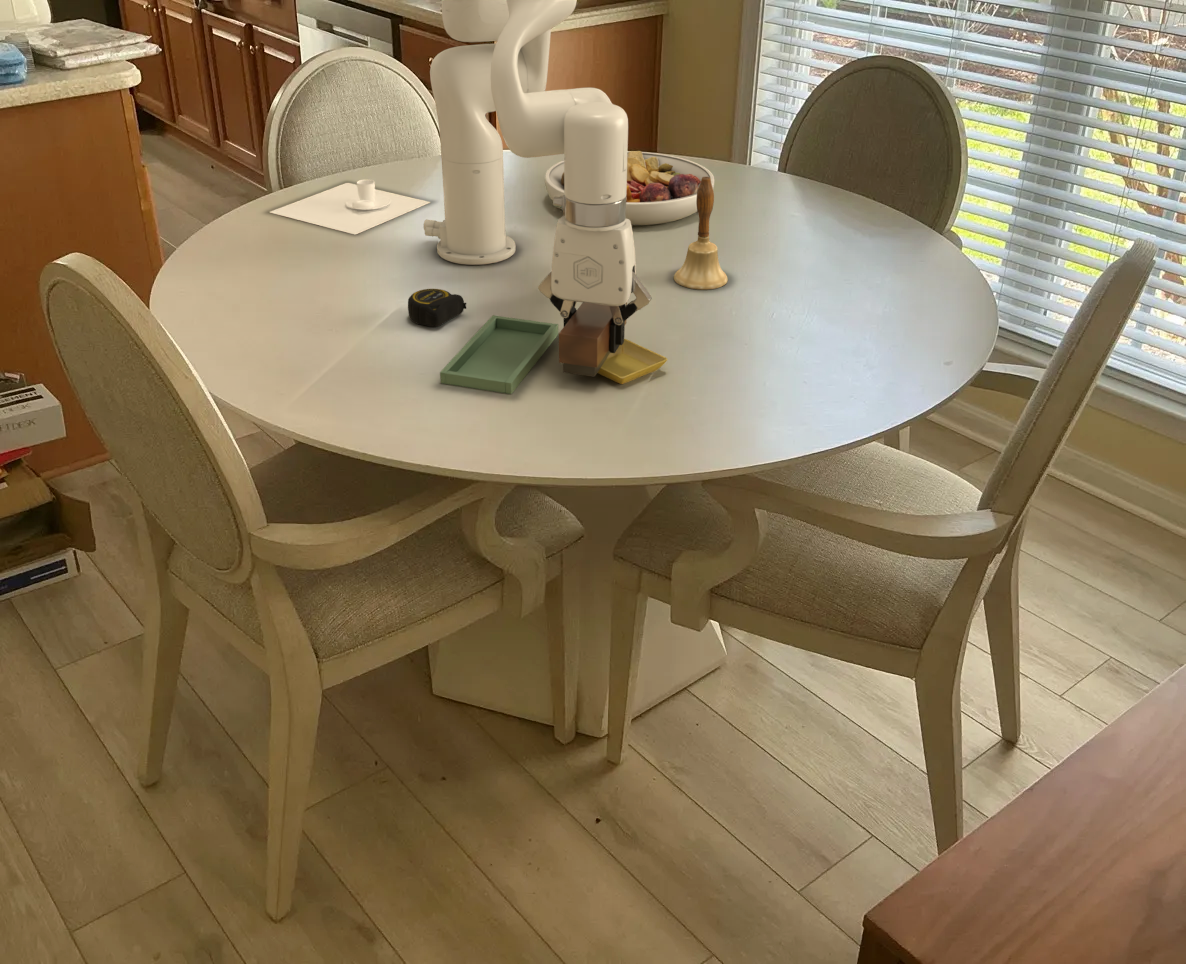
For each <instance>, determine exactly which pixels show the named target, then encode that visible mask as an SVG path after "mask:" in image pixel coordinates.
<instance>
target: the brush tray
mask: <svg viewBox="0 0 1186 964" xmlns="http://www.w3.org/2000/svg"><path fill="white" fill-rule="evenodd" d="M557 337H559V324H558V323H553V322H544V321H537V320H530V319H524V318H516V317H508V316H502V315H495V314H493V315H492V316H490V318H489V319H488V320H487V321H486V322H485V323H484V324H483V325H482V326H481V327H480V328H479V329H478V331H477V332H476V333H475V334H474V335H473V336H472V337H471V338H470V339H469V340H468V342H467V343H465V345H464V346H462V348H461V349H460V350H459V351H458V352H457V353H456V354H455V356H453V358H452V359H451V360H450V361H449V362H448V363H447V364H446V365H445V366H444V367H443V368H442V369H441V371H440V372H439V377H440V379H439V381H440V384H441V385H443V384H444V385H450V386H455V387H462V388H469V389H475V390H482V391H488V392H493V393H494V392H495V393H501V394H507V395H512V394H513V393H514V392H515V391H516V389H517V388H518V387H519V386H520V384H521V383H522V382H523V380H524V379H525V378H526V376H527V375H528V374H529V372H530V371H531V370H532V369H533V368H534V367H535V365H536V364H537V362H538V361H539V360H540V359H541V357H542V356H543V355H544V353H545V352H546V351H547V350H548V349H549V348H550V346H551V344H552V343H553V342H554V340H555V339H556V338H557Z"/></svg>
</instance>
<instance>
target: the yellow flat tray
mask: <svg viewBox="0 0 1186 964" xmlns="http://www.w3.org/2000/svg"><path fill="white" fill-rule="evenodd" d="M667 361H668V357H666V356H664V355H662V354H660V353H657V352H655V351H653V350H651V349H649V348H646V347H644V346H642V345H640V344H638V343H636V342H633V341H632V340H630V339H627V338H624V342H623V344H622V345H620V346H619V347H618V349H617V350H616V352H615V353H610V354H609V356H608V357H607V359H606V360H605V362H604V363H603V365H602V366H601V368H600V369H599V371H598V373H597V374H599V375H601V376H602V377H605V378H607V379H609V380H611V381H613V382H615V383H617V384H620V385H624V384H627V383H629V382H631V381H632V382H633V381H634V380H637V379H639V378H641V377H644V376H646V375H648V374H653V373H655V372H657V371H658V370H659V369H660V368H661V367H662V366H664V365H665V363H667Z"/></svg>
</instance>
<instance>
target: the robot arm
mask: <svg viewBox="0 0 1186 964" xmlns="http://www.w3.org/2000/svg"><path fill="white" fill-rule="evenodd" d="M577 2H578V1H577V0H441V19H442V25H443V28H444V30H445V32H446V34H447V35H448V36H449V37H450V38H451V39H453V40H455V41H459V42H462V43H479V44H469V45H460V46H458V45H457V46H452V47H450V48H449V47H448V48H447V49H444V50H442V51H441V52H439V53H437V55H436V56H434V58H433V60H432V61H431V64H430V69H429V75H430V76H429V77H430V86H431V90H432V95H433V100H434V104H435V105H434V106H435V108H436V116H437V121H438V130H439V141H440V157H441V171H442V172H441V173H442V175H441V176H442V191H443V206H444V207H443V209H444V219H443V220H442V221H438V220H434V219H425V220H424V222H423V231H424V235H425V236H426V237H437V238H438V239H439V241H438V243H437V245H436V250H437V251H436V252H437V255H438V256H439V257H440V258H441V259H443V260H445V261H447V262H451V263H455V264H460V265H470V266H478V265H479V266H480V265H489V264H490V265H491V264H494V263H499V262H502V261H505V260H507V259H509V258H511V257H512V256H513V255H514V254H515V253H516V242H515V240H514V239H513V238H511V237H510V236H508V235H506V210H505V209H506V207H505V206H506V205H505V177H504V175H505V172H504V145H503V141H504V144H505V145H506V147H507V148H508V150H509V151H510V152H511V153H512V154H514V155H515V156H518V157H520V158H524V159H525V158H526V159H529V158H540V157H541V158H542V157H549V156H556V155H557V156H558V155H564V156H563V160H564V195H563V196H560V197H558V196H555V197H554V200H553V201H552V202H553V203H552V205H553V206H552V207H553V208H557V209H560V210H561V211H562V216H561V217H559V218H558V220H557V223H556V228H555V233H554V240H553V249H552V259H551V270H550V272H549V273H548V274H547V275H546V277H545V278H544V279H543V280H542V281H541V282H540V283H539V285H538V286H537V290H538V291H539V292H540V293H541V294H542V295H544V296H545V298H547V299H549V301H550V303H551V304H552V305H553V306H554V307H555V308H556V310H557V311H558V312H559V316H560V318H562V319H563V327H564V326H565V325H566V324H567V322H568V321H569V320H570V318H571V317H572V316H573V314H574V313H575V312H576V311H577V307H576V306H577V303H583V302H584V303H591V304H600V305H608V306H610V310H611V313H612V317H613V319H612V323H611V324H610V335H609V352H610V353H615V352H616V350H617V349H618V347H619V346H620V345H622V344H623V342H624V339H625V330H626V329H625V327H626V325H625V320H626V319H627V320H628V319H629V318H630V317H632V316H633V315H635V313H637V312H638V311H640V310H641V309H643V308H644V307H646V306H648V305H649V304H650V303H651V301H652V300H653V299H652V295H651V294H650V292H649V291H648V289H647V288H646V286H645V285H644V284H643V282H642V281H641V280H640V278H639V277H638V275H637V262H636V260H637V259H636V248H635V246H636V245H635V239H634V233H633V225H631V222H630V220H629V219H626V192H627V152H628V149H629V148H628V147H629V145H628V144H629V118H628V114H627V112H626V111H625V110H624V109H623V108H622V107H621V106H619V105H616V104H615V103H612V100H611V99H610V97H609V96H608V95H607V94H606V92H604V91H603V90H602V89H600V88H596V87H577V88H568V89H552V90H551V89H550V90H547V89H546V88H547V82H548V73H549V72H548V71H549V62H550V61H549V60H550V59H549V58H550V49H551V47H550V46H551V34H552V29H554V28H555V27H557V26H558V25H560V24H562V23H563V22H565V20H567V19H568V18H569V17H570V16H571V15H572V14H573V12H575V11H574V10H575V9H576V7H577ZM485 42H495V43H485ZM481 43H482V44H481ZM493 112H496V113H495V114H496V117H497V122H498V126H499V129H500V132H501V135H500V133H499V132H498V130H497V129H496V127H494V126H493V125H492V123H491V122H489V120H488V119H487V116H486V114H488V113H493ZM501 136H502V138H503V140H502V138H501ZM631 294H633V295H634V296H635V299H633V300H631V301H630V302H628V301H629V300H630V299H631ZM626 302H627V305H626Z"/></svg>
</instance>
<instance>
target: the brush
mask: <svg viewBox="0 0 1186 964" xmlns="http://www.w3.org/2000/svg"><path fill="white" fill-rule="evenodd" d="M627 304H628V301H627V302H626V305H627ZM576 310H577V311H576V312H575V313H574V314H573V316H572V317H571V318H570V320H569V321H568V322H567V324H566V325H565V326H564V325H563V327H562V329H561V330H560V331H559V332H558V363H560V364H562V372H563V373H566V374H572V375H579V376H585V377H586V376H587V377H593V378H594V377H596V376H597V374H599V373H598V371H599V369H600V368H601V366H602V365H603V363H604V362H605V360H606V359H607V357H608V356H609V354H610V352H609V335H610V324H611V323H612V319H613V317H612V313H611V310H610V306H608V305H600V304H591V303H584V302H581V304H580V305H579V307H578V308H576ZM627 321H628V319H626V320H625V326H626V325H627Z"/></svg>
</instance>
